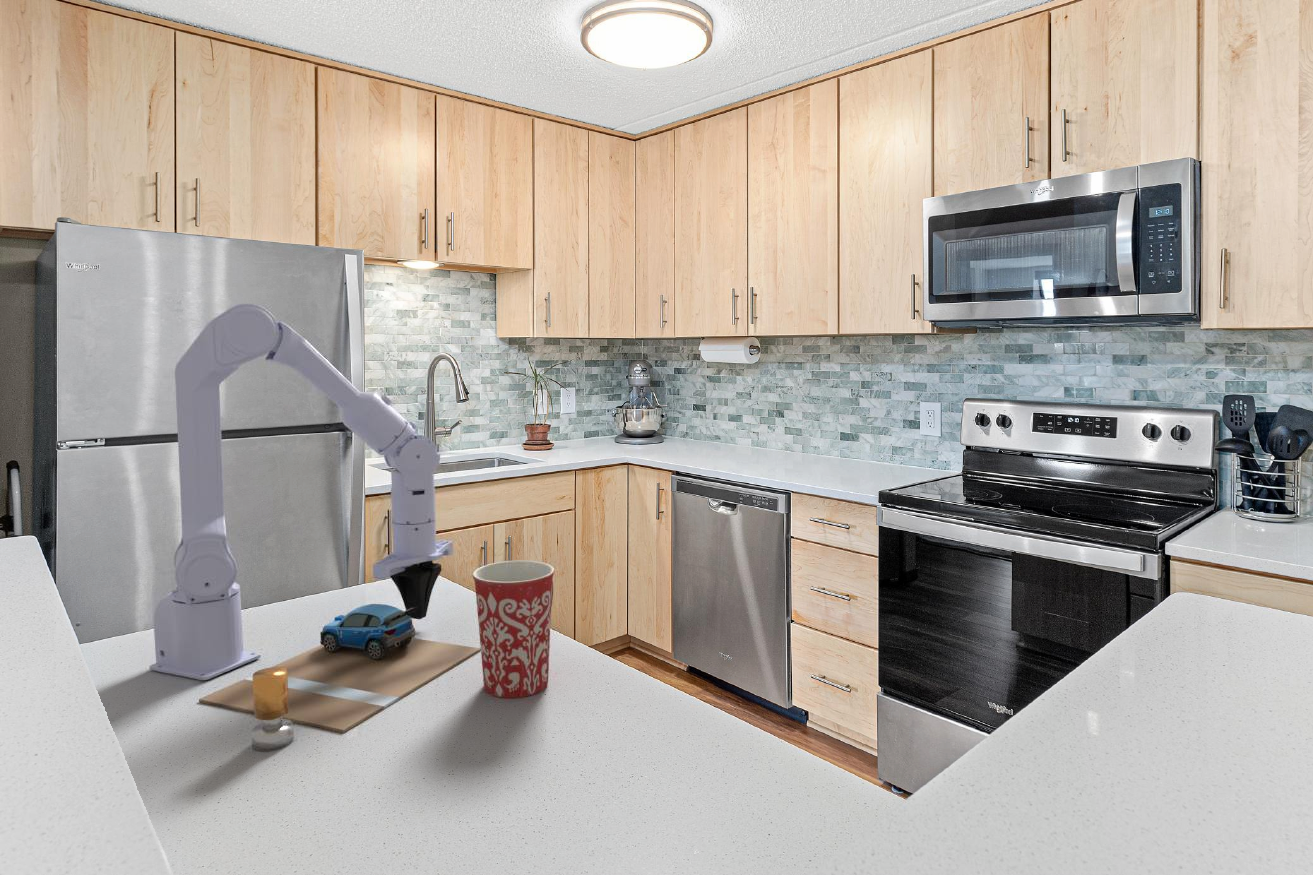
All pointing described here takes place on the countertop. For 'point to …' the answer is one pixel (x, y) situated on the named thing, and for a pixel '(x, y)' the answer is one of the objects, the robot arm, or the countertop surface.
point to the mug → (514, 626)
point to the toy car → (370, 630)
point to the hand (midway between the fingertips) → (417, 617)
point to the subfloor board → (349, 682)
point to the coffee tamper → (271, 710)
